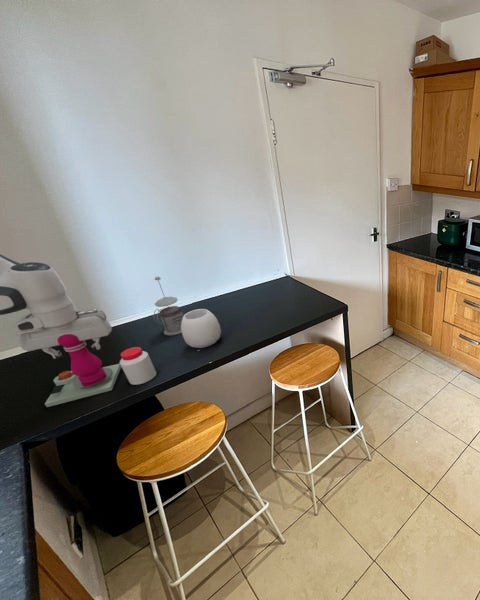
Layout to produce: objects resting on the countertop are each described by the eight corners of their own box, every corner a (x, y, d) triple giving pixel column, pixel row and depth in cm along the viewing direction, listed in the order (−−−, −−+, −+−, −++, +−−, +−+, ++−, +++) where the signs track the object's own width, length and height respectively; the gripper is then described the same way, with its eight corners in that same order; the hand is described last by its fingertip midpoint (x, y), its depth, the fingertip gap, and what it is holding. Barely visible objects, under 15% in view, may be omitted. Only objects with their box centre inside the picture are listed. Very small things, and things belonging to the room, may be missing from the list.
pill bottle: (136, 387, 105) (122, 361, 100) (124, 380, 108) (111, 354, 103) (161, 374, 111) (149, 349, 106) (149, 367, 114) (138, 342, 109)
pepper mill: (94, 384, 101) (64, 332, 92) (72, 384, 101) (40, 332, 92) (112, 370, 108) (86, 320, 99) (91, 370, 108) (63, 320, 99)
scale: (44, 407, 97) (39, 400, 95) (61, 380, 108) (57, 373, 106) (112, 390, 104) (108, 383, 102) (121, 366, 115) (118, 359, 113)
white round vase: (229, 341, 129) (220, 313, 123) (194, 356, 120) (183, 326, 114) (215, 330, 137) (207, 303, 131) (182, 343, 128) (171, 314, 122)
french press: (195, 324, 141) (177, 273, 129) (173, 338, 131) (151, 284, 119) (177, 322, 143) (157, 271, 131) (153, 335, 133) (131, 282, 121)
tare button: (58, 381, 104) (56, 377, 103) (62, 376, 106) (59, 372, 105) (70, 378, 105) (68, 374, 104) (73, 373, 107) (71, 369, 107)
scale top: (48, 397, 97) (47, 396, 96) (60, 378, 104) (60, 377, 104) (108, 382, 103) (108, 381, 103) (116, 365, 111) (115, 364, 110)
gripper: (104, 303, 100) (121, 339, 107) (15, 318, 92) (39, 356, 98) (99, 312, 96) (117, 349, 102) (4, 328, 87) (30, 367, 93)
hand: (78, 352), depth 100 cm, fingers open, 8 cm apart
